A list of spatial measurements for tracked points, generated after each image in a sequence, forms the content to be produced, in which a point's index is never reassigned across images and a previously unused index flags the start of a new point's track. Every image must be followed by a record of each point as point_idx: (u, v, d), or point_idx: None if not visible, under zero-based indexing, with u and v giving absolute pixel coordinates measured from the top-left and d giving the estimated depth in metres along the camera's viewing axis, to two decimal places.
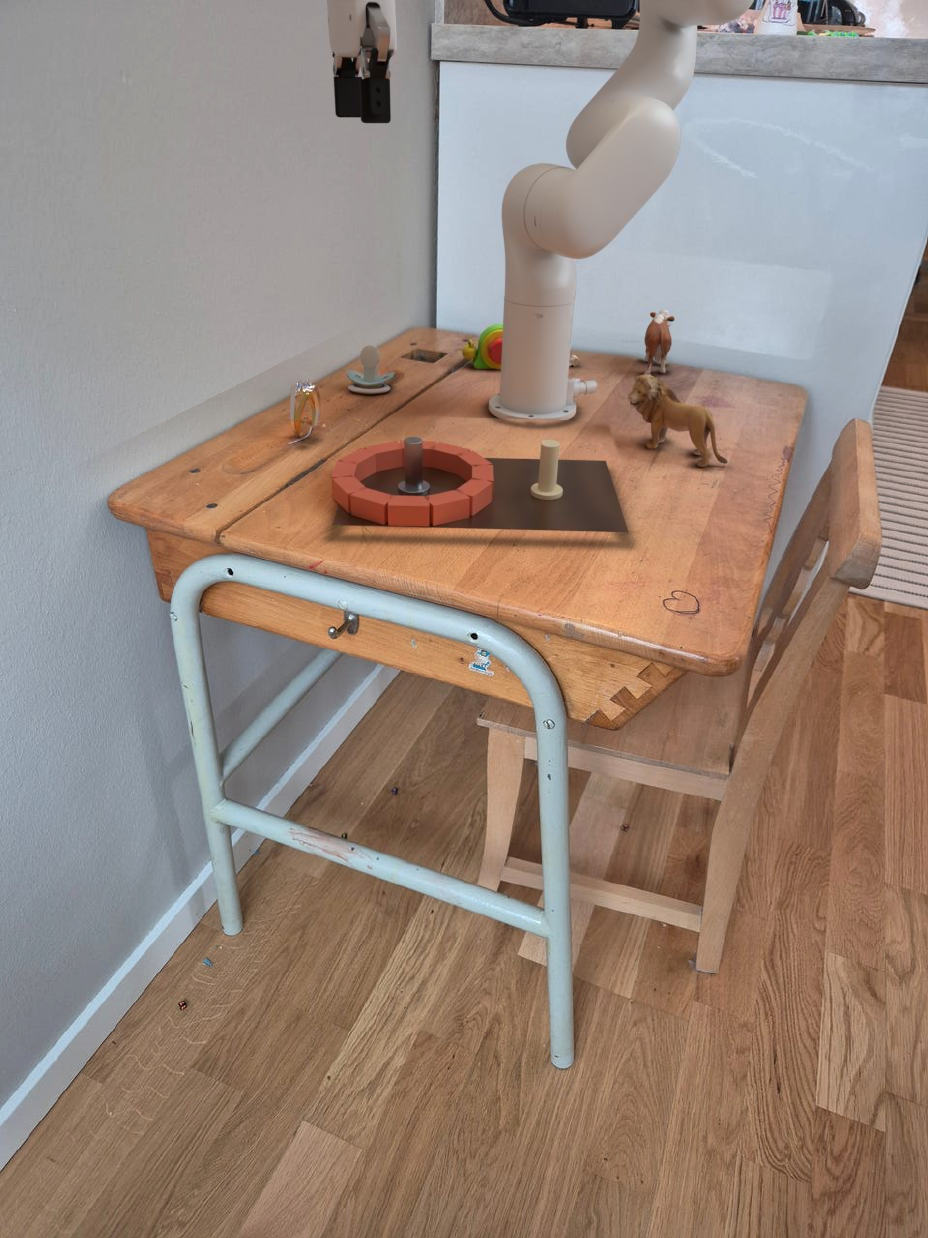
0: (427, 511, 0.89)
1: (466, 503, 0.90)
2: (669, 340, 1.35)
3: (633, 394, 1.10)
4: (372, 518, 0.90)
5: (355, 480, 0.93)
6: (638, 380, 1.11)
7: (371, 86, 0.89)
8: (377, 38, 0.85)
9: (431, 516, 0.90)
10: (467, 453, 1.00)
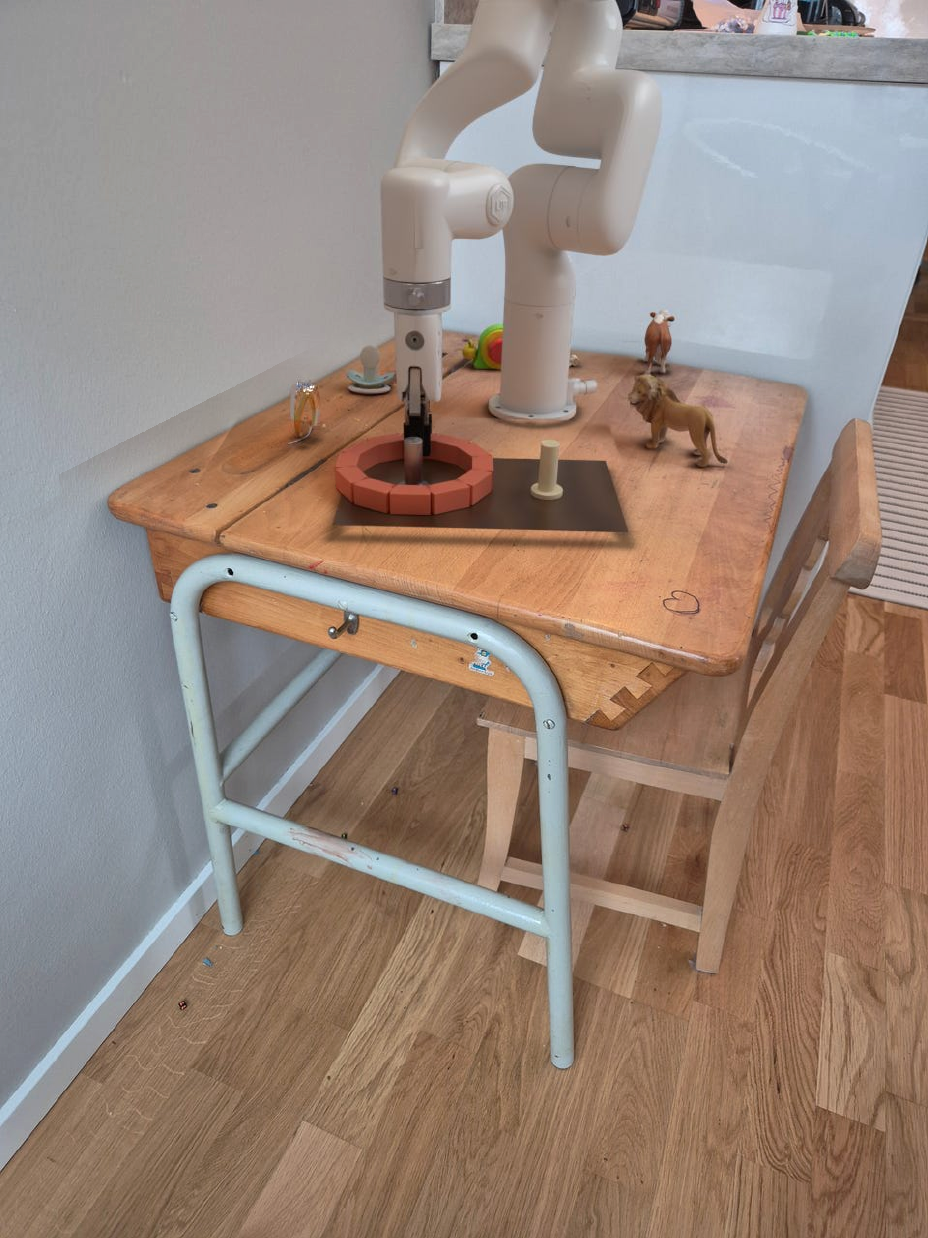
0: (428, 500, 0.91)
1: (466, 492, 0.93)
2: (669, 340, 1.35)
3: (633, 394, 1.10)
4: (374, 507, 0.92)
5: (358, 470, 0.95)
6: (638, 380, 1.11)
7: (411, 431, 1.01)
8: None
9: (432, 505, 0.92)
10: (467, 445, 1.02)
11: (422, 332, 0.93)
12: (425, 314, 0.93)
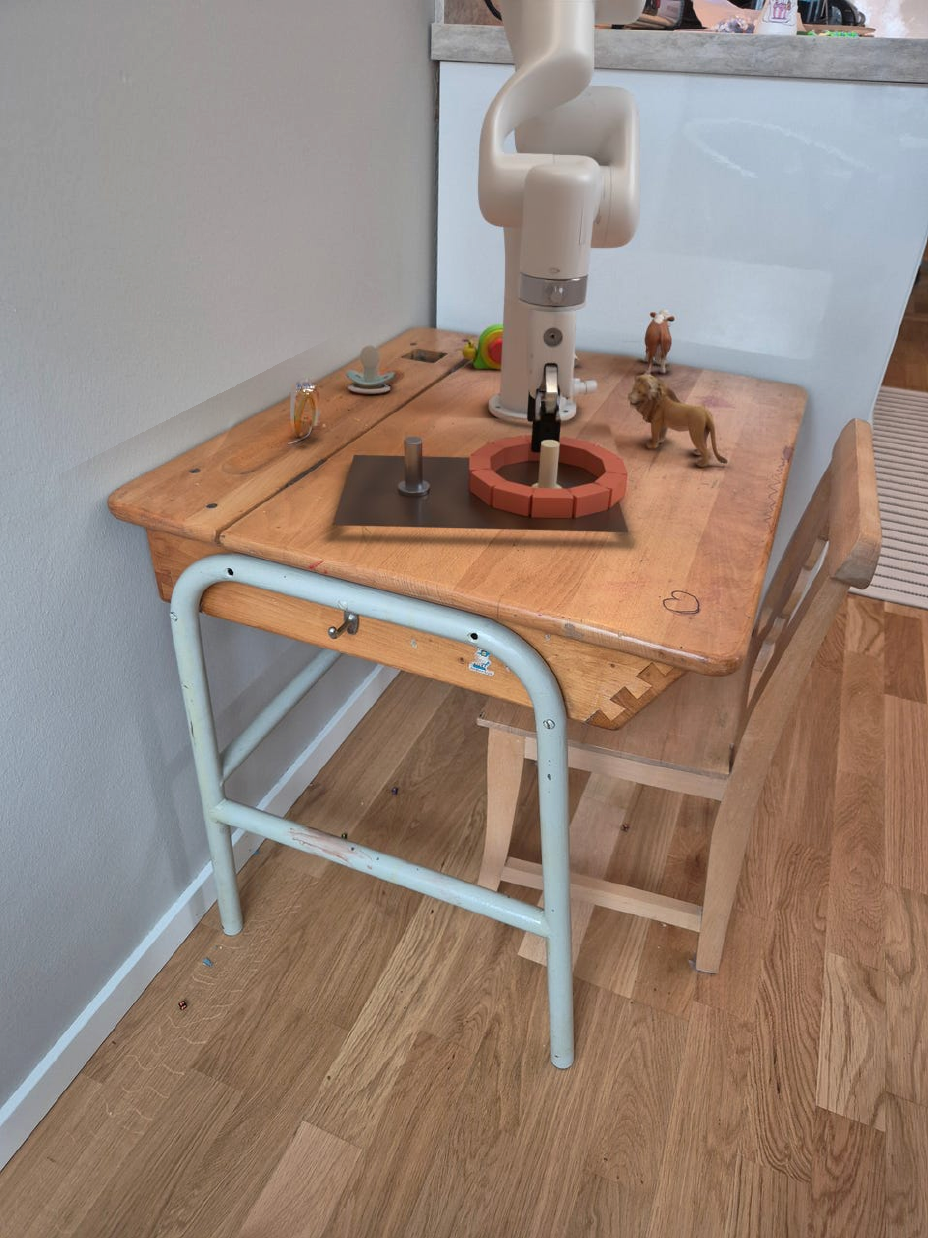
0: (571, 503, 0.91)
1: (606, 495, 0.93)
2: (669, 340, 1.35)
3: (633, 394, 1.10)
4: (515, 510, 0.92)
5: (493, 473, 0.95)
6: (638, 380, 1.11)
7: (541, 427, 0.98)
8: (545, 399, 0.94)
9: (573, 508, 0.92)
10: (593, 447, 1.02)
11: (561, 329, 0.93)
12: (564, 311, 0.93)
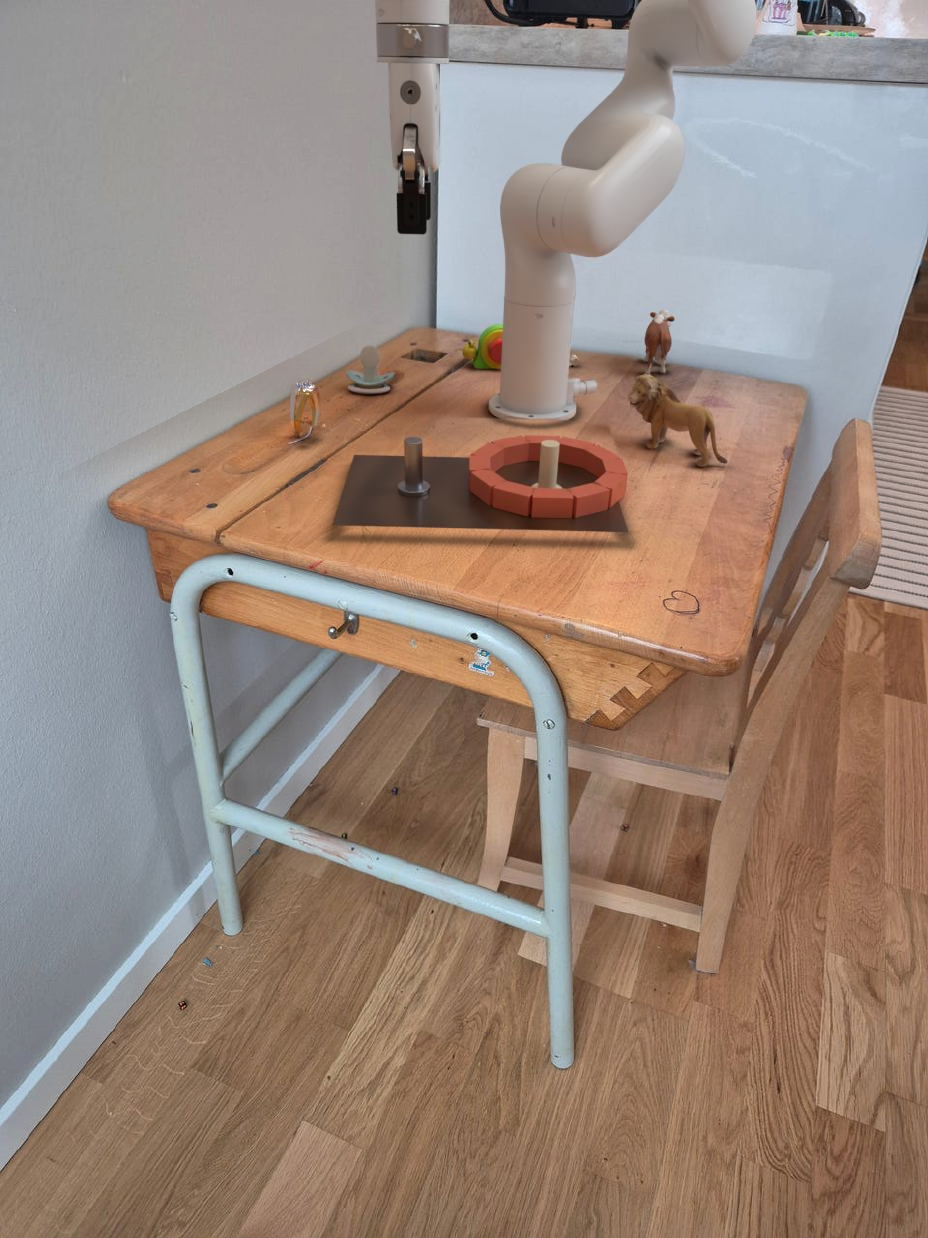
0: (571, 503, 0.91)
1: (606, 495, 0.93)
2: (669, 340, 1.35)
3: (633, 394, 1.10)
4: (515, 510, 0.92)
5: (493, 473, 0.95)
6: (638, 380, 1.11)
7: (404, 201, 0.92)
8: (403, 159, 0.87)
9: (573, 508, 0.92)
10: (593, 447, 1.02)
11: (418, 81, 0.87)
12: (421, 62, 0.87)
